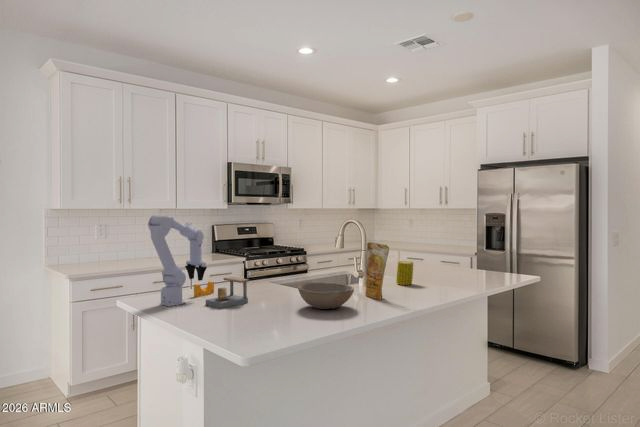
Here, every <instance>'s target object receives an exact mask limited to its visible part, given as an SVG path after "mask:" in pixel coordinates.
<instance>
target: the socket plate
mask: <svg viewBox="0 0 640 427" xmlns="http://www.w3.org/2000/svg"><path fill="white" fill-rule="evenodd" d="M223 281H227V282H229V285H230V286H229V288H230V289H229V291H230V293H229V295H228V294H227V295H226V298H227V300H226V301H218V296H217V297H214V298H208V299H205V305H206V306H209V307H212V308H216V307H217V309H226V308H231V307H235V306H240V305H244V304H249V297H248V296H247V295H248V294H247V293H248V291H247V289H248V286H247V284H248V283H249V282H250V279H247V278H242V277H235V276H228V277H223ZM234 283H238V284H243V285H242V287H243V289H242V291H243V293H242V294H243V296H241V295H236V294H234Z"/></svg>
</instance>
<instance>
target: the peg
mask: <svg viewBox="0 0 640 427" xmlns="http://www.w3.org/2000/svg"><path fill="white" fill-rule="evenodd" d="M226 296H227V287H218V288H217V297H218V301H226V300H227V298H226Z"/></svg>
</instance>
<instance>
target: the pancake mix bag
mask: <svg viewBox="0 0 640 427" xmlns="http://www.w3.org/2000/svg"><path fill="white" fill-rule="evenodd" d="M389 251H390V247H389V246H388V245H387V244H381V243H377V242H370V241H369V242H367V243H366V266H365V267H366V268H365V269H366V277H365V281H366V282H365V296H366V297H368V298H370V297H371V298H370V299H373V300H375V299H376V301H382V300H383V293H382V292H383V284H384V277H385V269H386V266H387V260H388V255H389V253H390V252H389Z"/></svg>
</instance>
